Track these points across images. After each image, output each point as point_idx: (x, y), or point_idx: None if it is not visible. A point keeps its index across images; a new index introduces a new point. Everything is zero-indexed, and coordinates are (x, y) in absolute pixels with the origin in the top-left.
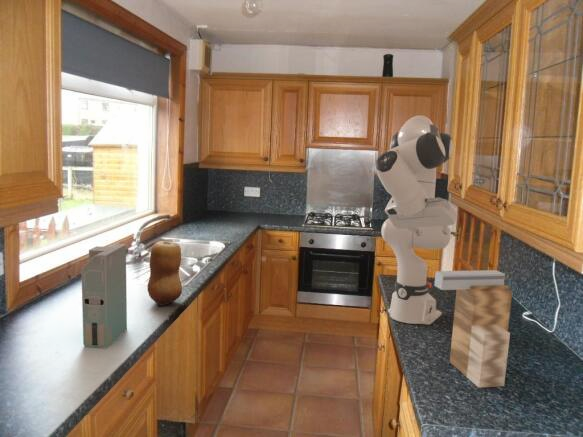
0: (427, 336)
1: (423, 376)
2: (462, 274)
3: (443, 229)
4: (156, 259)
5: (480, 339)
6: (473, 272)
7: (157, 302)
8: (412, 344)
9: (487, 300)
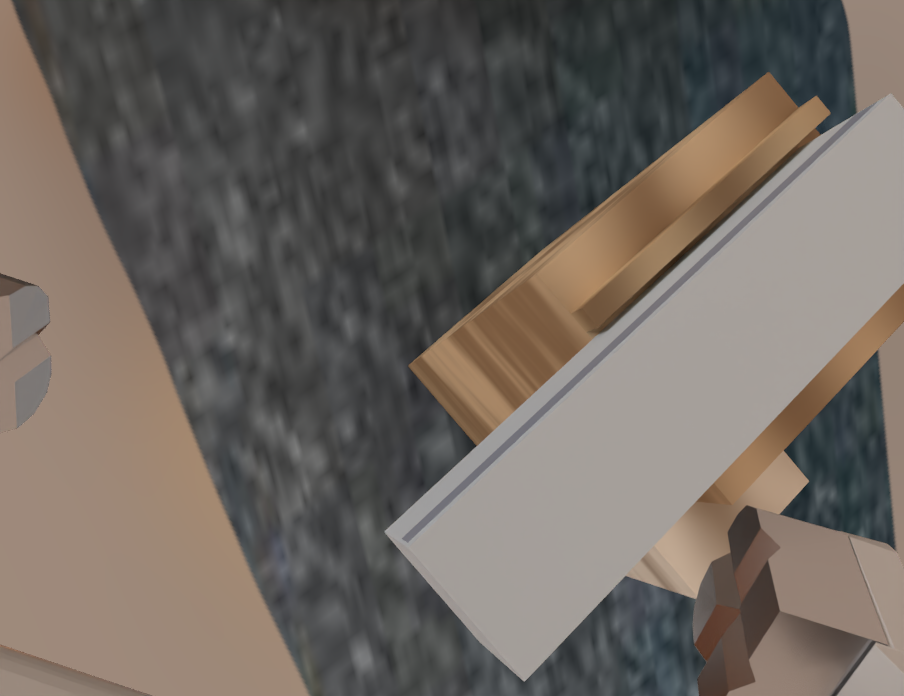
0: (231, 96)
1: (336, 601)
2: (684, 491)
3: (755, 690)
4: None
5: (654, 566)
6: (750, 327)
7: None
8: (185, 248)
9: None
